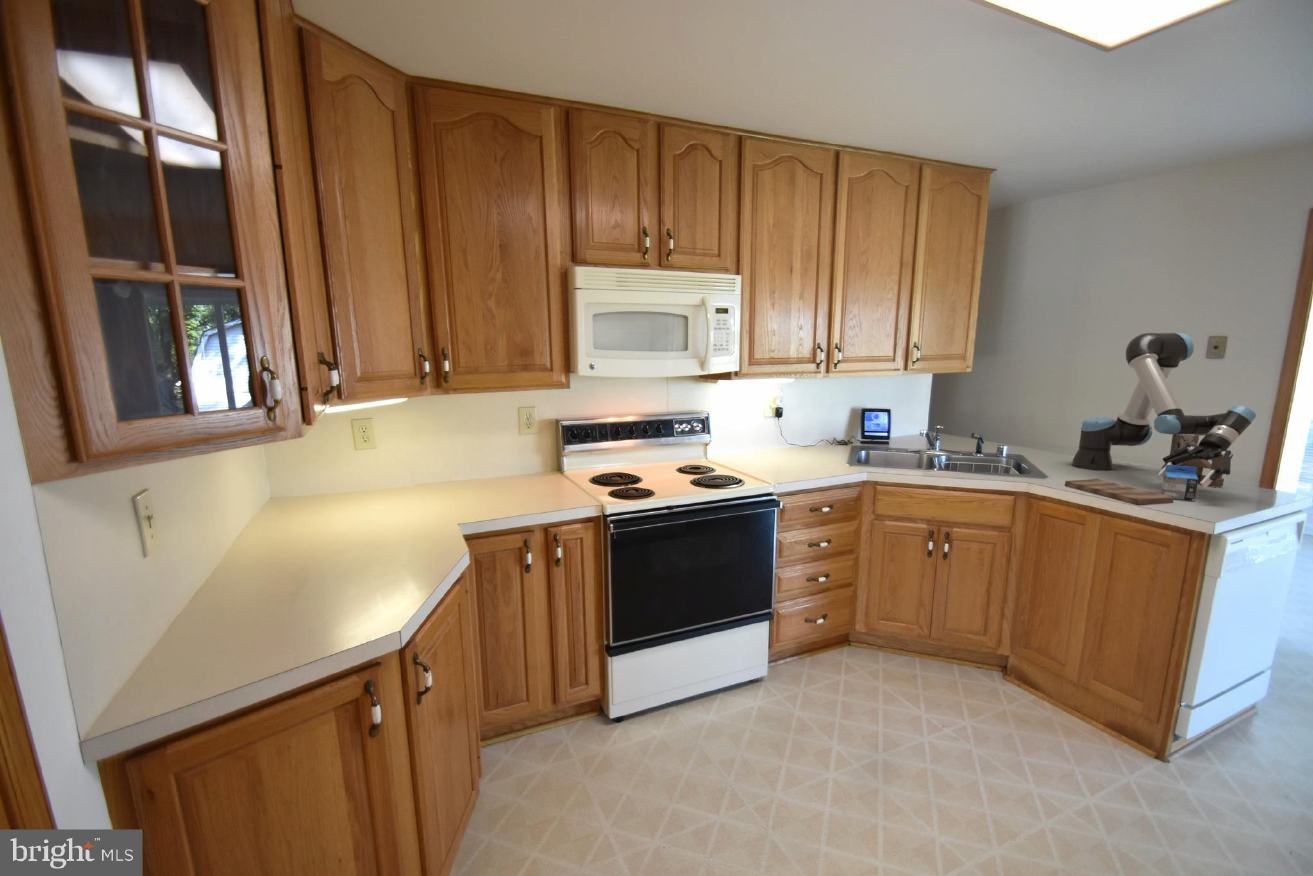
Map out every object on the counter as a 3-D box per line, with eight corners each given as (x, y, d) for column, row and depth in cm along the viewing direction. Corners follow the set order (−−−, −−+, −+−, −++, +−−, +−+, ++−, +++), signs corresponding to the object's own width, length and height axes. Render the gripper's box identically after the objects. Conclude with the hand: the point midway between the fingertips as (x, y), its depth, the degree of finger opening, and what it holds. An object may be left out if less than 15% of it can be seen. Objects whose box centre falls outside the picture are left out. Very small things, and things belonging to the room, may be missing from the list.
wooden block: (1190, 481, 226) (1197, 439, 223) (1222, 487, 216) (1231, 444, 213) (1184, 481, 225) (1191, 440, 222) (1216, 488, 215) (1225, 444, 212)
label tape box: (1163, 498, 200) (1168, 466, 198) (1160, 495, 204) (1165, 464, 202) (1195, 501, 196) (1200, 469, 194) (1191, 498, 199) (1197, 467, 197)
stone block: (1194, 479, 228) (1202, 434, 225) (1173, 478, 231) (1180, 432, 228) (1181, 473, 240) (1189, 429, 237) (1161, 471, 243) (1168, 428, 240)
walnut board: (1064, 485, 218) (1065, 480, 218) (1096, 483, 221) (1096, 478, 221) (1138, 505, 191) (1139, 499, 191) (1172, 502, 194) (1173, 497, 194)
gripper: (1175, 428, 210) (1140, 467, 210) (1257, 438, 186) (1218, 482, 186) (1183, 441, 212) (1148, 479, 212) (1265, 453, 188) (1226, 496, 188)
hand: (1181, 481), depth 199 cm, fingers open, 13 cm apart
